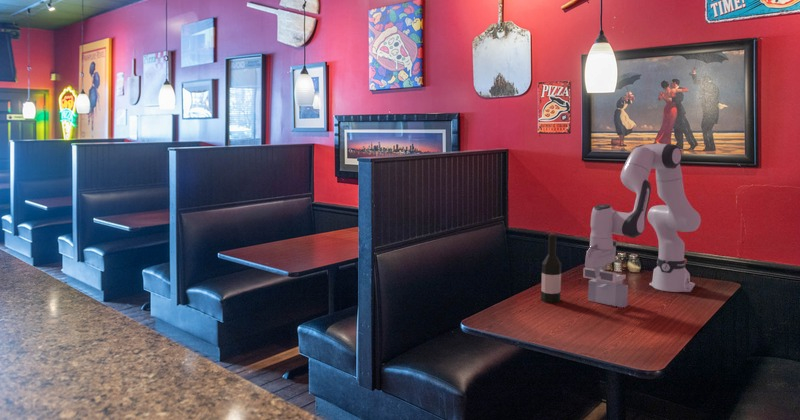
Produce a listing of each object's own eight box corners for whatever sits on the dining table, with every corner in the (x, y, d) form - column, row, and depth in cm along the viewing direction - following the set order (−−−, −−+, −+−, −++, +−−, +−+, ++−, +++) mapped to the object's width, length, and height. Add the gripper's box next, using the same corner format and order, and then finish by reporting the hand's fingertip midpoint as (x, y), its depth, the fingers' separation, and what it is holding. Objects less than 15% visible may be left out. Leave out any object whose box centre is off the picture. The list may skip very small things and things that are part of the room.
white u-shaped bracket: (594, 273, 268) (595, 264, 267) (625, 278, 258) (625, 269, 258) (583, 277, 261) (583, 268, 260) (614, 282, 251) (614, 273, 250)
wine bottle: (558, 298, 272) (560, 232, 268) (561, 303, 264) (563, 235, 260) (539, 297, 273) (541, 231, 269) (542, 303, 265) (544, 235, 260)
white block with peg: (594, 297, 272) (595, 270, 270) (629, 304, 261) (630, 276, 259) (580, 303, 263) (581, 275, 261) (615, 311, 252) (616, 282, 250)
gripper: (596, 248, 245) (594, 281, 246) (618, 241, 259) (617, 272, 261) (581, 245, 249) (580, 278, 251) (604, 239, 263) (603, 270, 265)
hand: (599, 275), depth 256 cm, fingers closed on white u-shaped bracket, 2 cm apart
